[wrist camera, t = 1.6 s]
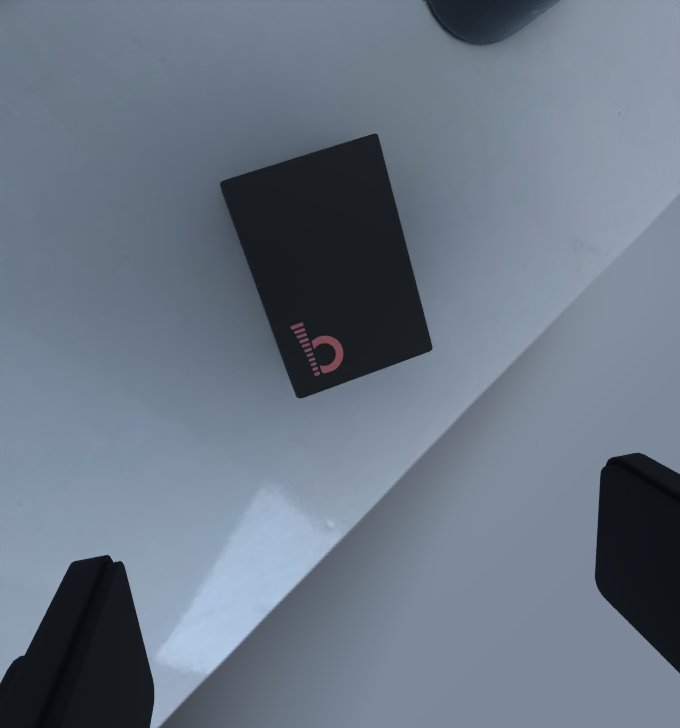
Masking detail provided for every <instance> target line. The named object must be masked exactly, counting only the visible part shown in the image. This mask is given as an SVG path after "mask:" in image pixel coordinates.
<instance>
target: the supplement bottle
mask: <svg viewBox="0 0 680 728" xmlns="http://www.w3.org/2000/svg"><path fill="white" fill-rule="evenodd" d="M428 1H429V3H430V5H431V8H432V9H433V11H434V13H435V15H436V16H437V18H438V19H439V20H440V21H441V23H442V24H443V25H444V26H445V27H446V28H447V29H448V30H449V31H451V32H452V33H453V34H455V35H456V36H458V37H460V38H462V39H464V40H467V41H470V42H475V43H492V42H496V41H500V40H503V39H505V38H507V37H509V36H511V35H512V34H514V33H516V32H517V31H519V30H520V29H521V28H523V27H524V26H526V25H527V24H529V23H530V22H531V21H533V20H534V19H535V18H537V17H538V16H539V15H541V14H542V13H544V12H545V11H546V10H548V9H549V8H550V7H552V6H553V5H554V4H556V3H557V2H558V1H560V0H428Z"/></svg>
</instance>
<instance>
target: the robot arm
mask: <svg viewBox="0 0 680 728" xmlns="http://www.w3.org/2000/svg"><path fill="white" fill-rule="evenodd" d="M599 494H600V495H599V512H598V530H597V548H596V567H595V580H596V584H597V587H598V589H599V591H600V592H601V594H602V595H603V597H604V598H605V599H606V600H607V601H608V602H609V603H610V604H611V605H612V606H613V607H614V608H615V609H616V610H617V611H618V612H619V613H620V614H621V615H622V616H623V617H624V618H625V619H626V620H627V621H628V622H629V623H630V624H631V625H632V626H633V627H634V628H635V629H636V630H637V631H638V632H639V633H640V634H641V635H642V636H643V637H644V638H645V639H646V640H647V641H648V642H649V643H650V644H651V645H652V646H653V647H654V648H655V649H656V650H657V651H658V652H659V653H660V654H661V655H662V656H663V657H664V658H665V659H666V660H667V661H668V662H669V663H670V664H671V665H672V666H673V667H674V668H675V669H676V670H677V671H678V672H679V673H680V474H678V473H677V472H675V471H673V470H671V469H669V468H667V467H666V466H664V465H662V464H660V463H658V462H656V461H655V460H653V459H651V458H649V457H648V456H646V455H644V454H641V453H633V454H628V455H623V456H618V457H612V458H611V459H609V460H608V462H607V463H606V466H605V467H604V468H603V469H602V470H601V476H600V493H599ZM153 706H154V683H153V678H152V674H151V670H150V666H149V662H148V658H147V654H146V650H145V646H144V642H143V638H142V634H141V630H140V626H139V622H138V618H137V614H136V610H135V606H134V602H133V598H132V594H131V590H130V586H129V582H128V578H127V574H126V570H125V567H124V564H123V562H121V561H119V562H114V563H113V561H112V559H111V557H110V556H108V555H105V556H100V557H94V558H89V559H84V560H79V561H74V562H72V563H71V565H70V566H69V568H68V570H67V572H66V574H65V576H64V578H63V580H62V582H61V584H60V586H59V588H58V590H57V592H56V594H55V596H54V598H53V600H52V602H51V604H50V606H49V608H48V610H47V612H46V614H45V616H44V618H43V620H42V622H41V624H40V626H39V628H38V630H37V632H36V634H35V636H34V638H33V640H32V642H31V644H30V646H29V648H28V650H27V652H26V654H25V655H24V656H20V657H18V658H17V659H16V660H14V661H13V663H12V664H11V665H10V667H9V668H8V670H7V672H6V674H5V676H4V677H3V679H2V681H1V683H0V728H150V723H151V718H152V712H153Z"/></svg>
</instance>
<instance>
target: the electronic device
mask: <svg viewBox="0 0 680 728" xmlns="http://www.w3.org/2000/svg"><path fill="white" fill-rule="evenodd" d="M220 186H221V189H222V193H223V196H224V198H225V201H226V204H227V207H228V209H229V212H230V215H231V218H232V221H233V223H234V226H235V229H236V232H237V234H238V237H239V240H240V243H241V245H242V248H243V251H244V254H245V257H246V259H247V262H248V265H249V268H250V270H251V273H252V276H253V279H254V282H255V284H256V287H257V290H258V293H259V295H260V298H261V301H262V304H263V307H264V309H265V312H266V315H267V318H268V320H269V323H270V326H271V329H272V332H273V334H274V337H275V340H276V343H277V345H278V348H279V351H280V354H281V357H282V359H283V362H284V365H285V368H286V370H287V373H288V376H289V378H290V381H291V384H292V386H293V389H294V392H295V394H296V396H297V398H304V397H307V396H310V395H312V394H315V393H318V392H320V391H323V390H326V389H329V388H331V387H334V386H337V385H340V384H342V383H345V382H348V381H350V380H353V379H356V378H359V377H361V376H364V375H367V374H370V373H372V372H375V371H378V370H380V369H383V368H386V367H389V366H391V365H394V364H397V363H399V362H402V361H405V360H408V359H410V358H413V357H416V356H419V355H421V354H424V353H427V352H429V351H431V350H432V343H431V339H430V336H429V332H428V328H427V324H426V320H425V316H424V312H423V308H422V305H421V301H420V297H419V293H418V289H417V285H416V281H415V277H414V273H413V270H412V266H411V262H410V258H409V254H408V250H407V246H406V242H405V239H404V235H403V231H402V227H401V223H400V219H399V215H398V211H397V207H396V204H395V200H394V196H393V192H392V188H391V184H390V180H389V176H388V173H387V169H386V165H385V161H384V157H383V153H382V149H381V145H380V142H379V138H378V135H377V134H372V135H368V136H365V137H362V138H359V139H355V140H352V141H349V142H346V143H343V144H339V145H336V146H333V147H330V148H327V149H323V150H320V151H317V152H314V153H310V154H307V155H304V156H301V157H298V158H294V159H291V160H288V161H285V162H282V163H278V164H275V165H272V166H269V167H265V168H262V169H259V170H256V171H253V172H249V173H246V174H243V175H240V176H237V177H233V178H230V179H227V180H224V181H222V182H221V183H220Z"/></svg>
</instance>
